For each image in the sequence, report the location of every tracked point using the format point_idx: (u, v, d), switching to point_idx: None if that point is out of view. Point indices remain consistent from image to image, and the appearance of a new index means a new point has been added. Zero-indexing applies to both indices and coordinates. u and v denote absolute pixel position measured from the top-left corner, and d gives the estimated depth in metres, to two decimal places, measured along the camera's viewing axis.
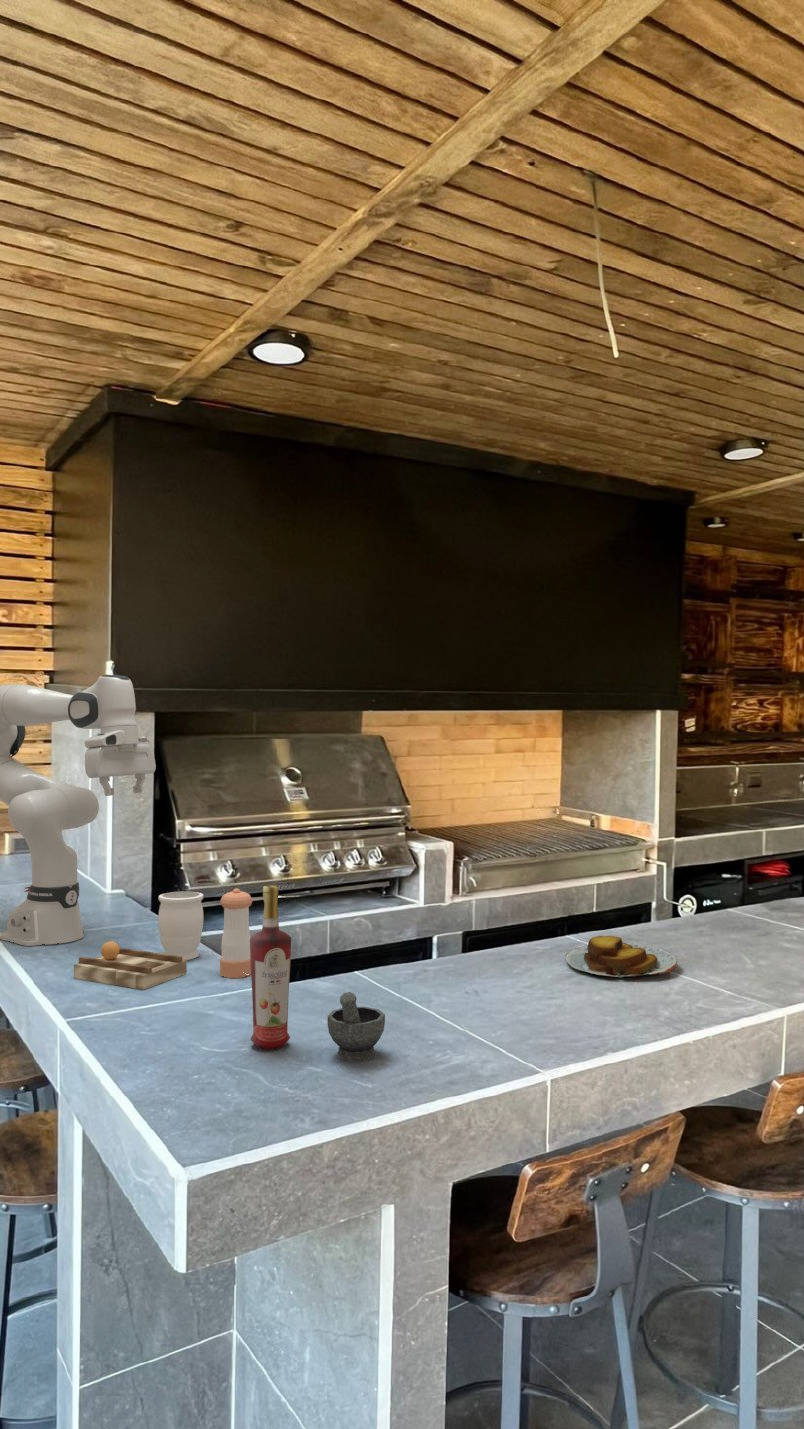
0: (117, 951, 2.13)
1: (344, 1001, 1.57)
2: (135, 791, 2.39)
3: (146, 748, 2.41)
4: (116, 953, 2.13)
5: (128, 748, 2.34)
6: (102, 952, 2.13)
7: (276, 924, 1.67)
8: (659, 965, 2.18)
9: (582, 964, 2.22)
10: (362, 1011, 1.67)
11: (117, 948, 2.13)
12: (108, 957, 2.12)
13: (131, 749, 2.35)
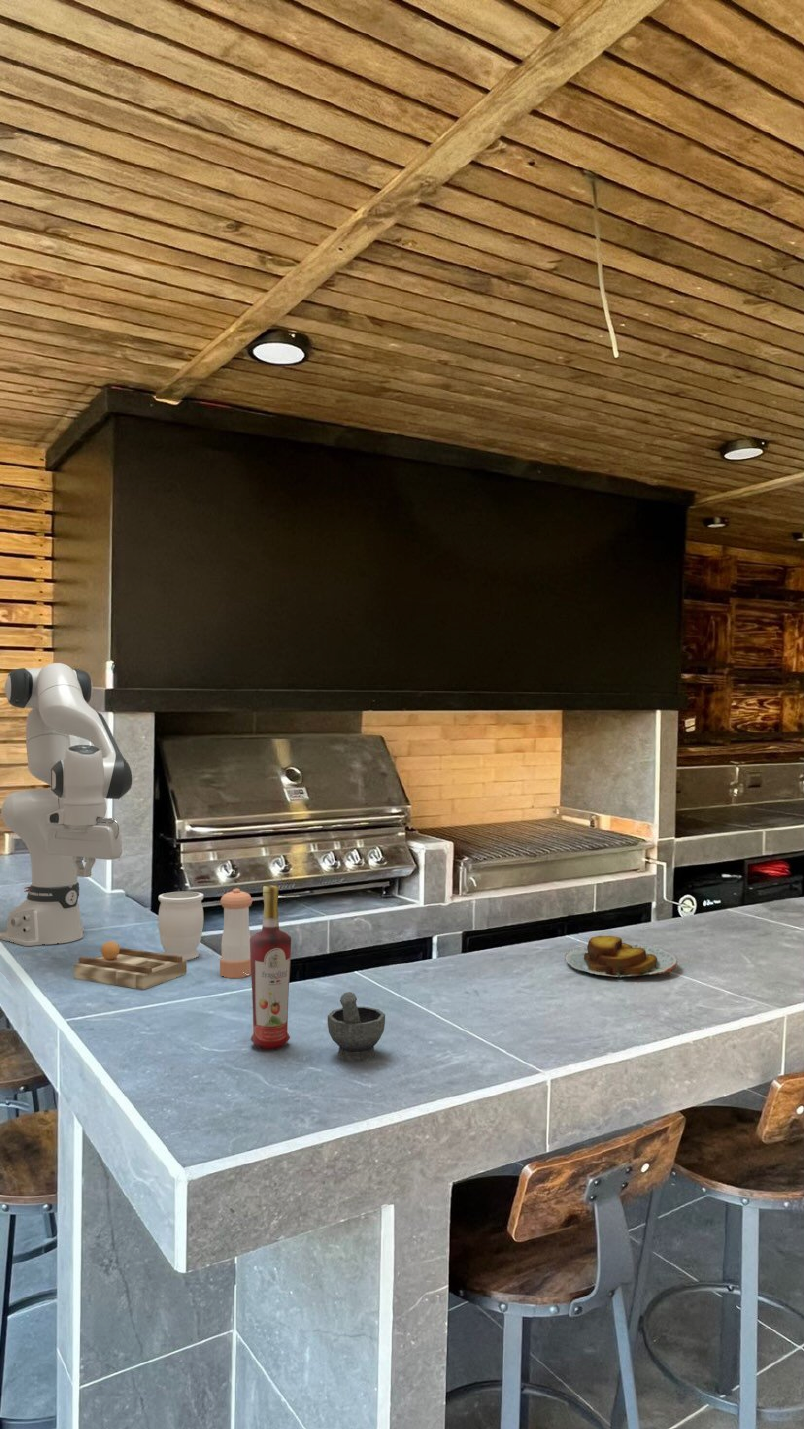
0: (117, 951, 2.13)
1: (344, 1001, 1.57)
2: None
3: (101, 830, 2.13)
4: (116, 953, 2.13)
5: (72, 829, 2.15)
6: (102, 952, 2.13)
7: (276, 924, 1.66)
8: (659, 965, 2.18)
9: (582, 964, 2.21)
10: (362, 1011, 1.67)
11: (117, 948, 2.13)
12: (108, 957, 2.12)
13: (76, 830, 2.15)
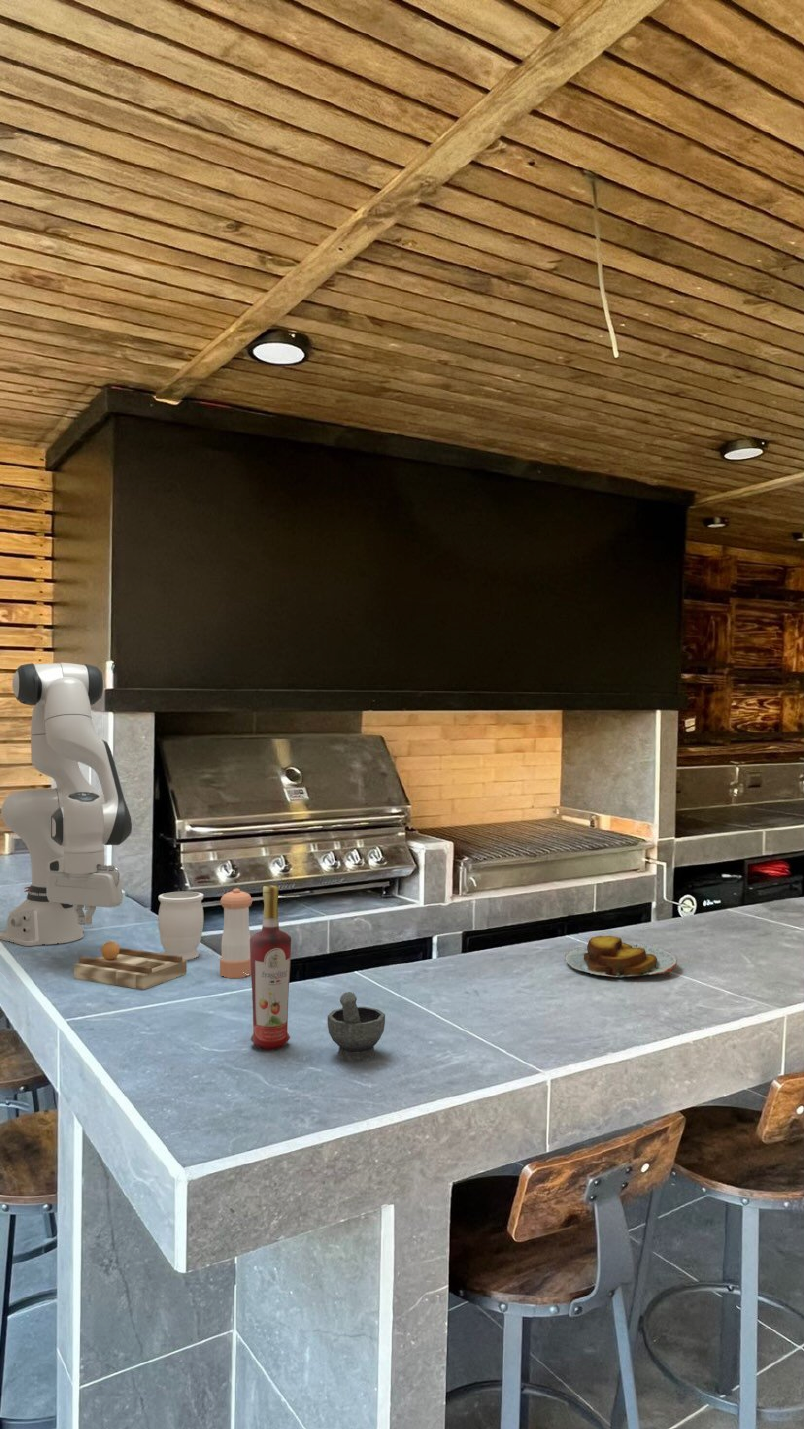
0: (117, 951, 2.13)
1: (344, 1001, 1.57)
2: None
3: (101, 878, 2.12)
4: (116, 953, 2.13)
5: (73, 877, 2.15)
6: (102, 952, 2.13)
7: (276, 924, 1.67)
8: (659, 965, 2.18)
9: (582, 964, 2.21)
10: (362, 1011, 1.67)
11: (117, 948, 2.13)
12: (108, 957, 2.12)
13: (76, 878, 2.14)
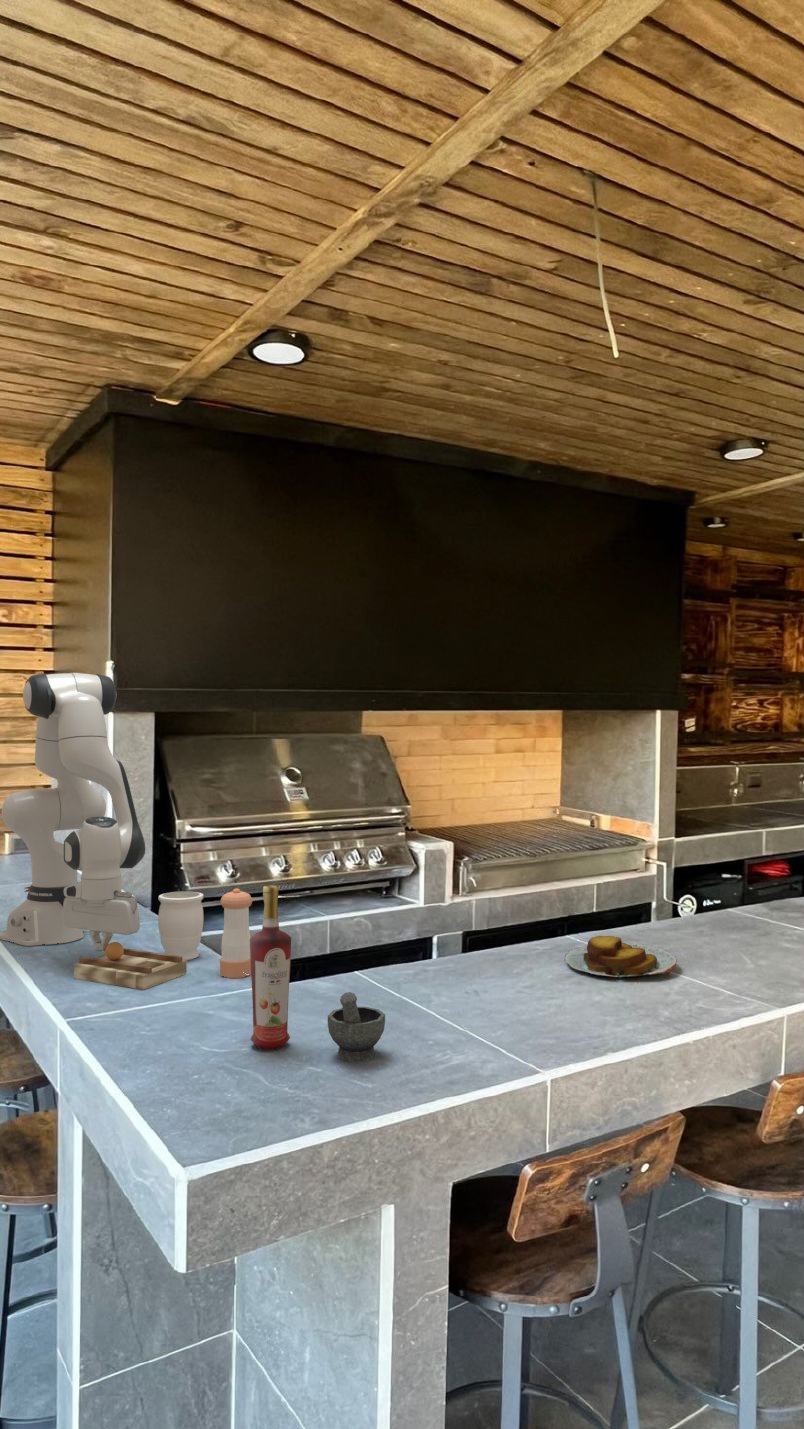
0: (120, 956, 2.13)
1: (344, 1001, 1.57)
2: None
3: (118, 905, 2.10)
4: (118, 958, 2.13)
5: (90, 903, 2.12)
6: (106, 951, 2.12)
7: (276, 924, 1.66)
8: (659, 965, 2.18)
9: (581, 964, 2.21)
10: (362, 1011, 1.67)
11: (121, 954, 2.13)
12: (110, 958, 2.12)
13: (93, 905, 2.12)
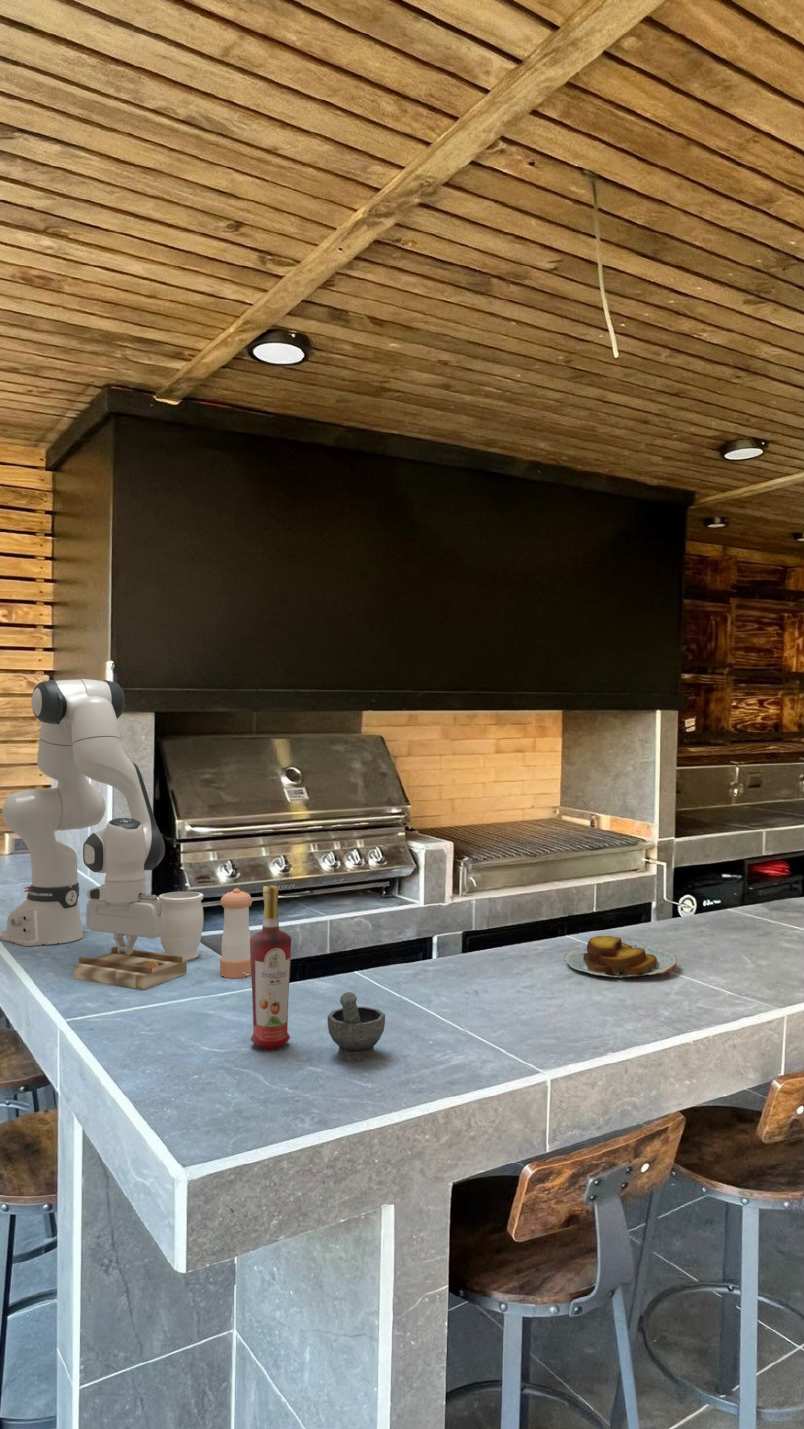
0: None
1: (344, 1001, 1.57)
2: None
3: (143, 908, 2.07)
4: None
5: (114, 906, 2.09)
6: None
7: (276, 924, 1.67)
8: (658, 965, 2.17)
9: (581, 964, 2.21)
10: (362, 1011, 1.67)
11: None
12: None
13: (117, 907, 2.09)
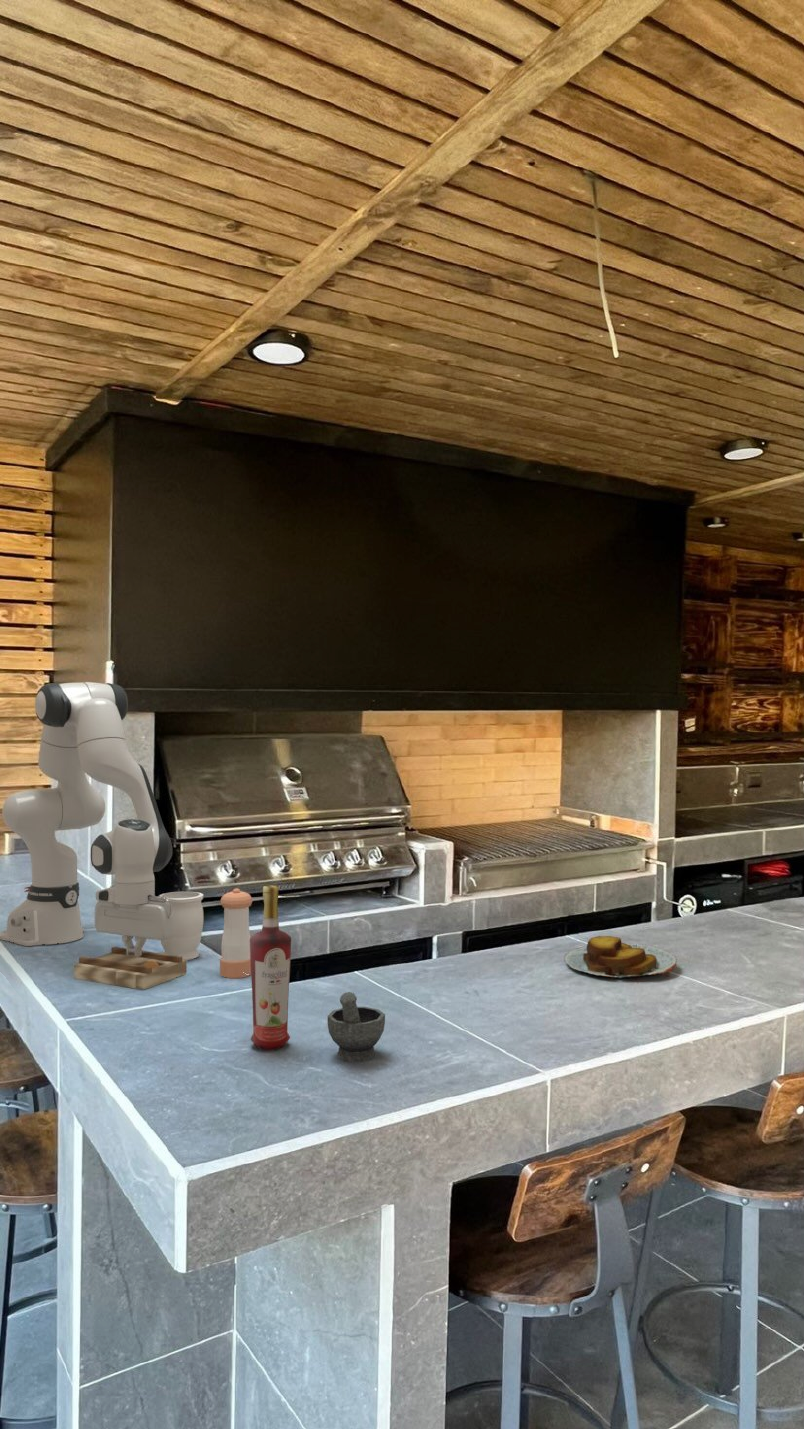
0: None
1: (344, 1000, 1.57)
2: None
3: (153, 910, 2.06)
4: None
5: (123, 908, 2.08)
6: None
7: (276, 924, 1.66)
8: (658, 965, 2.17)
9: (581, 964, 2.21)
10: (362, 1011, 1.67)
11: None
12: None
13: (126, 909, 2.08)
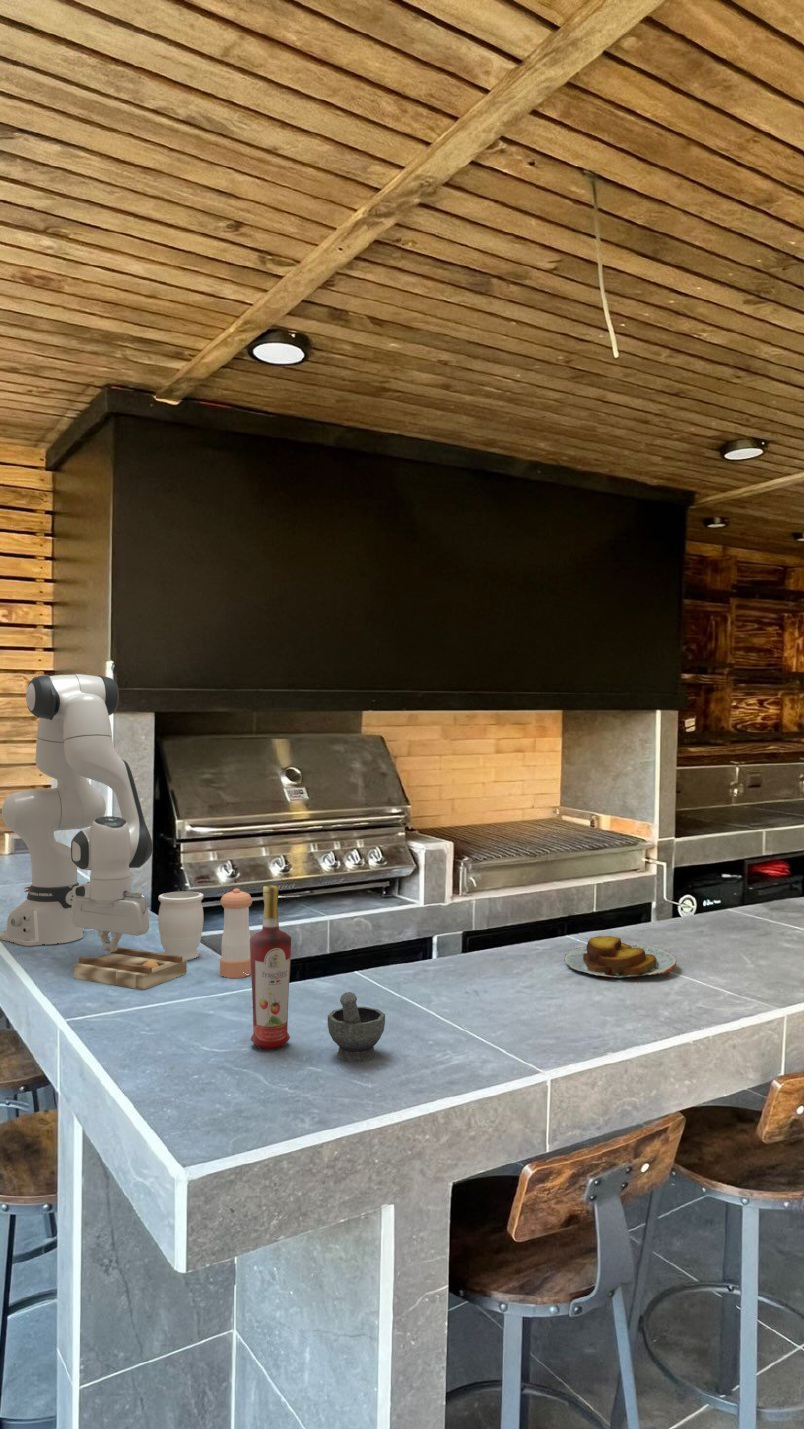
0: None
1: (344, 1000, 1.57)
2: None
3: (128, 906, 2.09)
4: None
5: (99, 903, 2.12)
6: None
7: (276, 924, 1.66)
8: (658, 965, 2.17)
9: (581, 964, 2.21)
10: (362, 1011, 1.67)
11: None
12: None
13: (102, 905, 2.11)
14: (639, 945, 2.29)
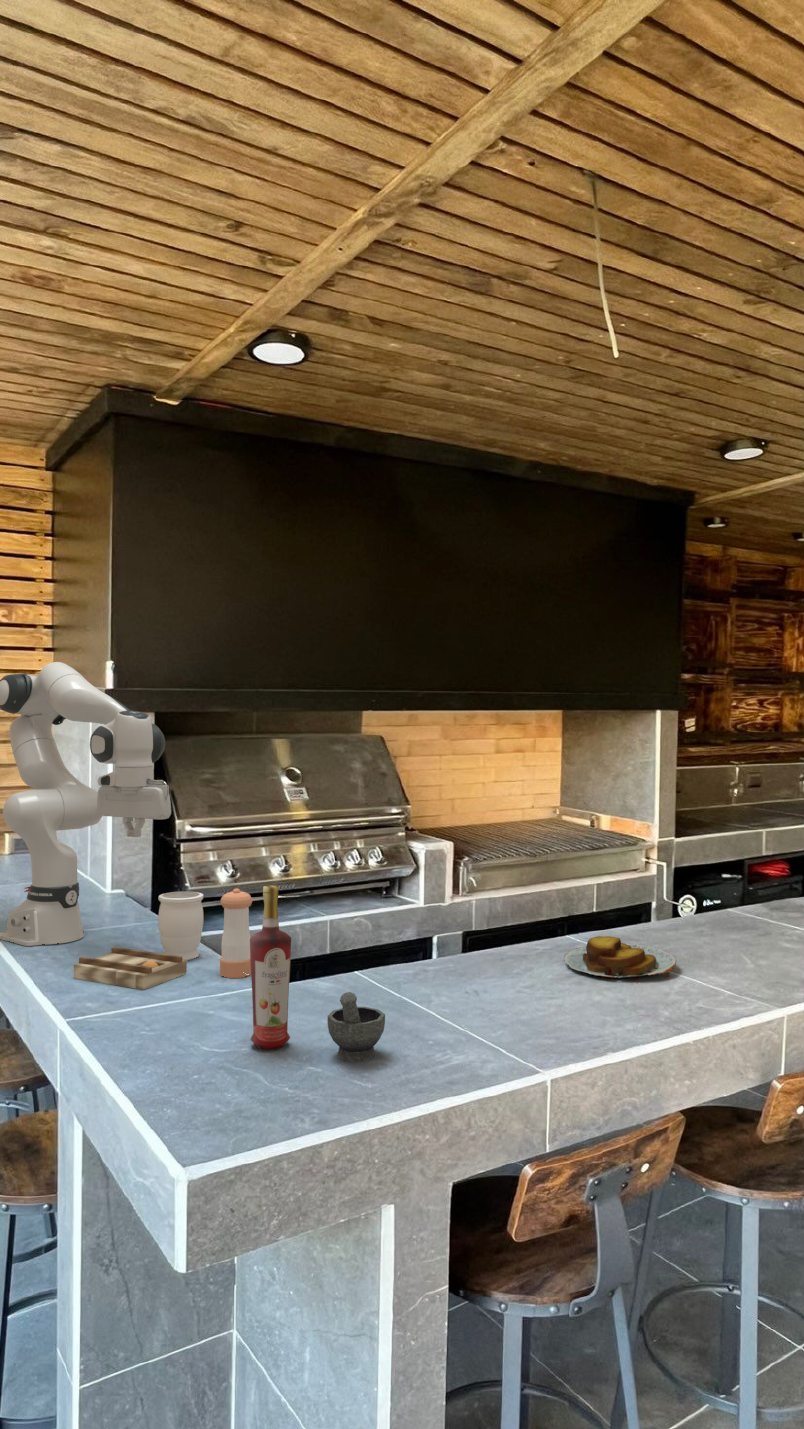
0: None
1: (344, 1001, 1.57)
2: None
3: (151, 791, 2.22)
4: None
5: (123, 790, 2.24)
6: None
7: (276, 924, 1.67)
8: (658, 966, 2.17)
9: (581, 965, 2.21)
10: (362, 1011, 1.67)
11: None
12: None
13: (127, 792, 2.23)
14: (639, 945, 2.29)
